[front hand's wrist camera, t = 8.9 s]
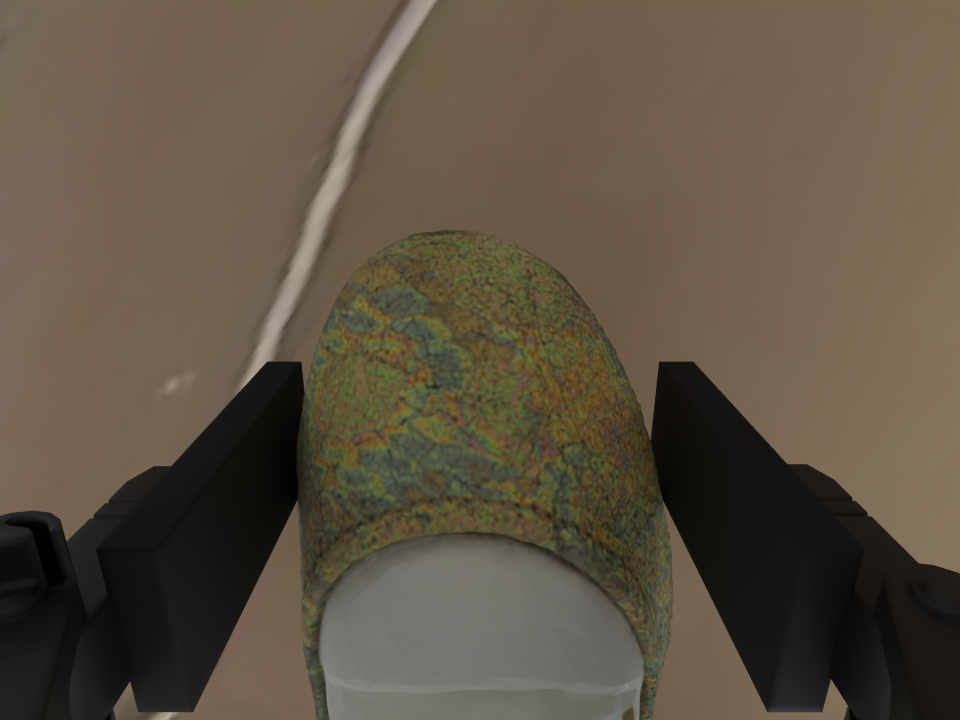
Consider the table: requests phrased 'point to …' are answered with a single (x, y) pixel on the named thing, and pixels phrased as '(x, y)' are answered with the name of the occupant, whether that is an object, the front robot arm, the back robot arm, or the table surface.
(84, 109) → the table surface
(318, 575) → the ballet flat
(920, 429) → the table surface
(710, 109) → the table surface
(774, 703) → the front robot arm
